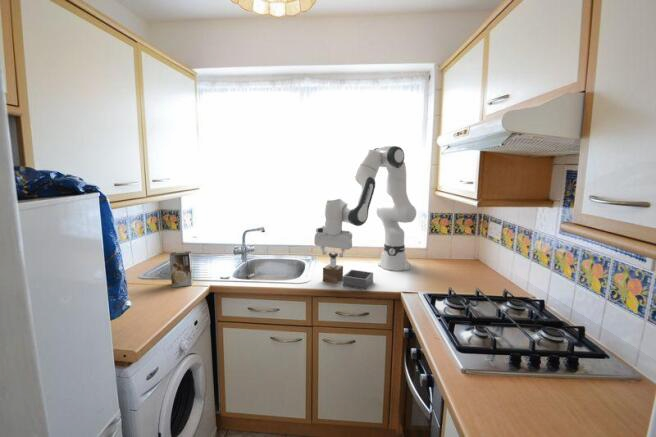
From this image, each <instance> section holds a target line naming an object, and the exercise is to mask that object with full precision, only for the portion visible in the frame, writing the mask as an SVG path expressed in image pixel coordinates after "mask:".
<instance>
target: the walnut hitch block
mask: <svg viewBox="0 0 656 437" xmlns="http://www.w3.org/2000/svg"><path fill="white" fill-rule="evenodd" d="M343 276H344V265H339V264H336V268H330V263H328V264H326V266H324V267H322V281H323V282H326V283H334V284H338V283H340V281H343Z"/></svg>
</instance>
